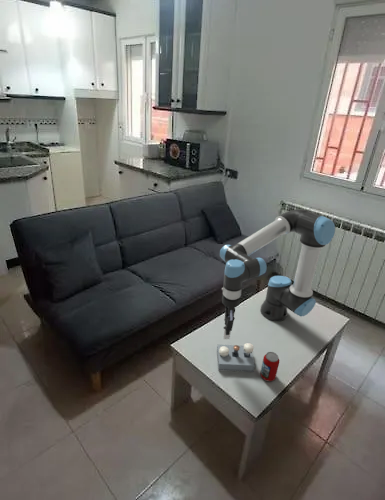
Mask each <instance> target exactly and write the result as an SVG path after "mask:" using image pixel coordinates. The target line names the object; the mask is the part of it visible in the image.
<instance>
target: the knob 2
mask: <svg viewBox="0 0 385 500" xmlns="http://www.w3.org/2000/svg"><path fill="white" fill-rule="evenodd" d="M243 346H244V349H243V350H244V351H245V352H246V355H247V356H249V353H252V354H253V352H254V348H255V347H254V345H253V344H252V343H250V342H249V343H248V342H246V343H244V344H243Z"/></svg>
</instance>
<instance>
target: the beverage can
mask: <svg viewBox="0 0 385 500" xmlns="http://www.w3.org/2000/svg"><path fill="white" fill-rule="evenodd" d="M279 365H280V358H279V355H278V354H277V353H275V352H273V351H268V352H266V353H265V354H264V355H263V359H262V364H261V369H260V377H261V378H262V379H263V380H265V381H268V382H273V381H275V380H276V378H277V373H278V370H279Z"/></svg>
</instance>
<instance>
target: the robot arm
mask: <svg viewBox="0 0 385 500" xmlns="http://www.w3.org/2000/svg"><path fill="white" fill-rule="evenodd" d="M335 232H336V226H335V223H334V222H333V220H332V219H330V218H328V217H326V216H324V215H320V214H318V213H315V212H312V211H309V210H307V209H303V208H298V209H292V210H288V211H285V212H283V213H281V214H280V215H278V216H276V217H275V219H274V221H272V222H270V223H269V224H267V225H266V226H264V227H263V228H260V229H259V230H257V231H255V232H254V233H252V234H251V235H249V236H247V237H246V238H244V239H242V240H241V241H239V242H238V243H236V244H234V245H232V244H224V245H223V246H222V247H221V248H220V250H219V257H220V259H221V260H223V261H224V263H225V268H224V273H223V274H224V275H223V287H221V291H222V296H221V303H222V305H224V307H225V308H224V319H223V320H224V326H223V340H230V339H231V333H232V332H231V331H232V330H233V326H234V321H235V319H236V318H235V312H236V308H237V307H239V305H240V304H241V297H242V289H243V282H247V281H249V280H251V279H254V278H259V277H260V276H262V275H264V274H265V273H266V272H267V267H268V266H267V262H266V261H265V260H264V258H262V257H255V258H252V257H251V256H250V255H252V254H254V253H255V252H257V251H258V250H260V249H262V248H263V247H265V246H267V245H268V244H270V243H272V242H273V241H275V240H276V239H278V238H279V237H281V236H282V235H287V234H289V233H296V234H298V235H300V238H299V243H300V244H301V248H300V249H301V250H300V251H299V252H300V253H299V258H298V262H297V265H296V272H295V275H294V276H295V277H294V280H293V282H292V280H291V279H292V278H289V277H287V276H285V275H274V276H271V277H270V278H269V281H268V284H267V290H266V295H265V299H264V300H263V303H262V304H261V305H260V314H261V315H262V316H263V317H264V318H266V319H267V320H270V321H273V322H274V321H275V322H280V321H283V320H285V319H286V318H287V317H288V310H289V311H291V312H292V313H294V314H295V315H296V316H299V317H305V316H306V315H308V314H310V312H312V310H313V309H314V307H315V305H316V303H317V301H316V299H315V298H314V297H313V295H314V291H313V289H312V285H313V282H314V277H315V274H316V270H317V266H318V261H319V258H320V256H321V255H320V254H321V251H322V249H323V248H325V247H326V246H327V245H328V244H330V243H331V241H332V239H333V238H334V236H335ZM292 283H293V284H292Z"/></svg>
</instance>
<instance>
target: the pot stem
mask: <svg viewBox="0 0 385 500" xmlns="http://www.w3.org/2000/svg"><path fill="white" fill-rule="evenodd" d="M233 345H234V347H233V349H234V355H237V354H238V350H239V349H240V347H239V346H238V345H237V344H233Z"/></svg>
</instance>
